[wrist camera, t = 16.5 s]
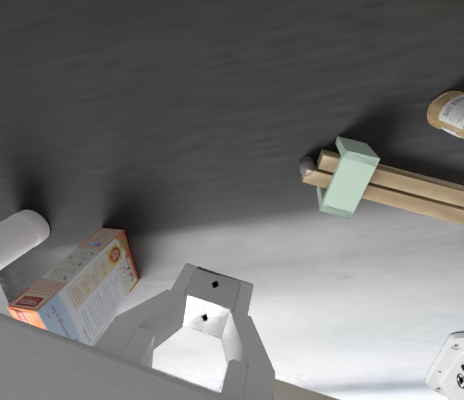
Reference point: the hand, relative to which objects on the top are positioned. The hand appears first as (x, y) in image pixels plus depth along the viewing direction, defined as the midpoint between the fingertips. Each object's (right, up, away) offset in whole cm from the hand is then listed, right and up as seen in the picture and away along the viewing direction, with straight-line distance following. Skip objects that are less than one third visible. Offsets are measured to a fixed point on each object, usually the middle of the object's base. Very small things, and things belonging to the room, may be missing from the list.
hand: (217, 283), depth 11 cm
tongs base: (+24, +5, +27) cm, 36 cm away
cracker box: (-24, -8, +46) cm, 53 cm away
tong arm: (+25, +7, +26) cm, 37 cm away
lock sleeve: (+17, +8, +27) cm, 33 cm away
